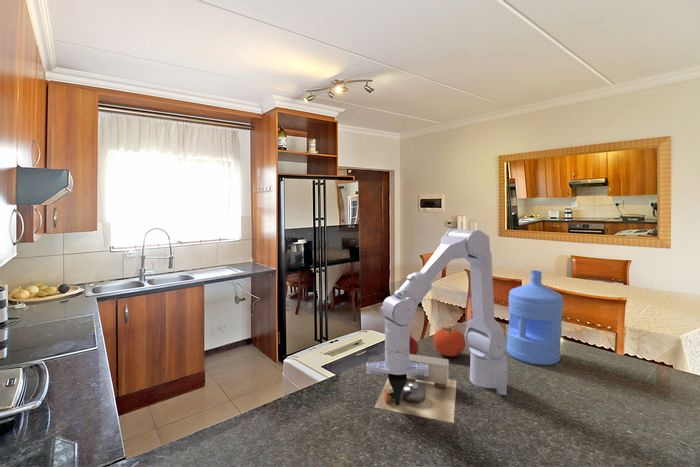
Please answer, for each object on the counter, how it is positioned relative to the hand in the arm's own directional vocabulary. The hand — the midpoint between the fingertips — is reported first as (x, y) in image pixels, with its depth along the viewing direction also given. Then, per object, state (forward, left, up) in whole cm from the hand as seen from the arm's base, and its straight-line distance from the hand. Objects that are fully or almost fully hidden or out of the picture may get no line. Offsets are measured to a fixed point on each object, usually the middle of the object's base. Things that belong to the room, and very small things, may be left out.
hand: (397, 402), depth 83 cm
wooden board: (-4, -7, -2) cm, 9 cm away
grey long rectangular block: (-5, -12, +1) cm, 14 cm away
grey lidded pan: (-1, -4, -1) cm, 4 cm away
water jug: (-36, -45, -2) cm, 58 cm away
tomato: (-10, -36, -2) cm, 38 cm away
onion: (+2, -29, -2) cm, 30 cm away
